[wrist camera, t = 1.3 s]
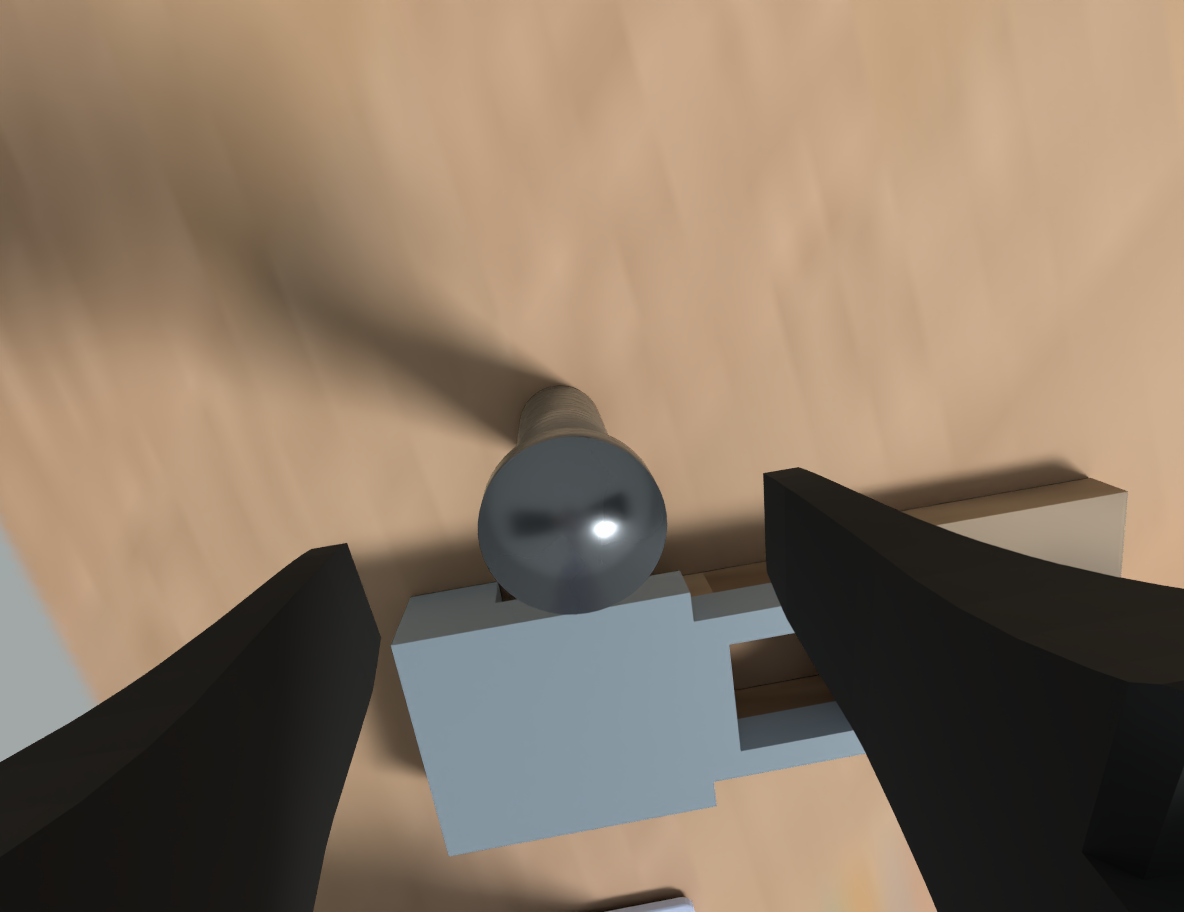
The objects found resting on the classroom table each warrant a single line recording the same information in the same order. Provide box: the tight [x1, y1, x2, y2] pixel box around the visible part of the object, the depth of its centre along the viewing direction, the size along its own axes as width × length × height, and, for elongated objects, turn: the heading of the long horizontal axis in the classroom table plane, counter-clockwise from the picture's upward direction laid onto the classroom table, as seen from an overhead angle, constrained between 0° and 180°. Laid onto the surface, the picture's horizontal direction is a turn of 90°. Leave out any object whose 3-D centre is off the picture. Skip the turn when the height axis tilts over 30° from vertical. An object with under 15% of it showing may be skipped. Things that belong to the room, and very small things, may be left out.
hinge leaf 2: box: [683, 478, 1128, 719], centre depth 23 cm, size 8×15×2 cm, turn 99°
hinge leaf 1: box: [391, 571, 866, 856], centre depth 22 cm, size 8×15×3 cm, turn 99°
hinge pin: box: [478, 386, 667, 615], centre depth 16 cm, size 4×4×9 cm
